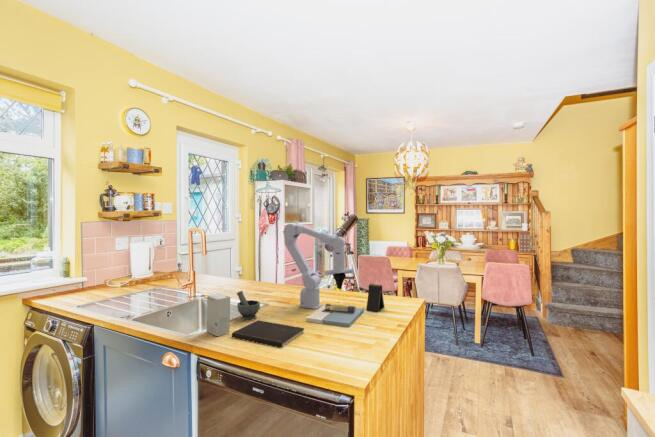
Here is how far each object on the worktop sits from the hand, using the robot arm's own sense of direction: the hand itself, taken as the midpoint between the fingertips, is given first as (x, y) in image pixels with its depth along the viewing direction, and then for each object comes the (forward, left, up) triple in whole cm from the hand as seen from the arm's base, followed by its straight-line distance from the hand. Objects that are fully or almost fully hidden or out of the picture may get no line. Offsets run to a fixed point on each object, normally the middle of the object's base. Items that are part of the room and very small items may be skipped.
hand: (339, 288), depth 158 cm
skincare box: (-34, -48, -10) cm, 59 cm away
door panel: (+7, -12, -10) cm, 17 cm away
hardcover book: (-14, -43, -11) cm, 46 cm away
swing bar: (+3, -9, -8) cm, 12 cm away
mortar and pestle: (-34, -29, -10) cm, 46 cm away
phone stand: (+17, +5, -10) cm, 20 cm away
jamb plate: (-4, -12, -10) cm, 16 cm away
